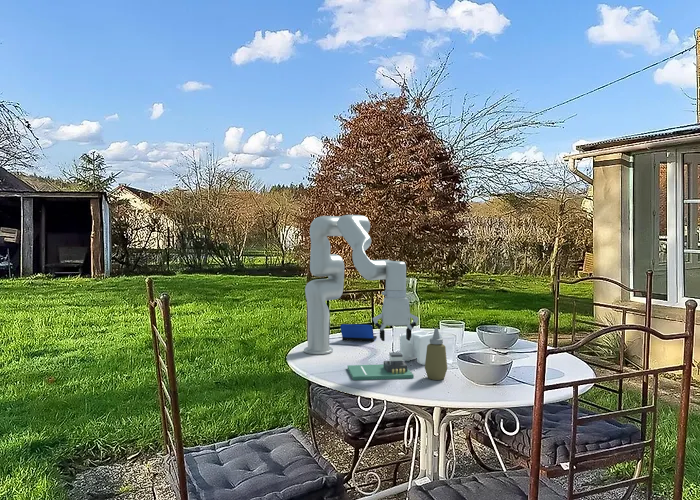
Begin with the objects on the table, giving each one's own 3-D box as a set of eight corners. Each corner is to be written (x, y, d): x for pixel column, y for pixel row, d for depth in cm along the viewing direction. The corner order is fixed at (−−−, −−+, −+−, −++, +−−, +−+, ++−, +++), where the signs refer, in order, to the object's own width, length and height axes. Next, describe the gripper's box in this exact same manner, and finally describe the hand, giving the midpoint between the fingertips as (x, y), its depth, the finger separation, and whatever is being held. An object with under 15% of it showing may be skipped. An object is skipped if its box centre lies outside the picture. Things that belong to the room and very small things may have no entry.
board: (347, 368, 207) (347, 356, 207) (403, 366, 210) (403, 355, 210) (353, 380, 191) (353, 367, 191) (413, 378, 194) (413, 365, 194)
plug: (389, 368, 203) (389, 352, 202) (400, 368, 203) (400, 352, 203) (391, 371, 199) (391, 355, 198) (402, 371, 199) (402, 354, 199)
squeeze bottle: (442, 382, 189) (442, 331, 188) (421, 379, 193) (421, 329, 192) (450, 377, 195) (451, 328, 195) (430, 374, 200) (430, 325, 199)
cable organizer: (418, 367, 210) (418, 337, 210) (398, 362, 218) (398, 333, 217) (442, 360, 220) (442, 332, 220) (422, 356, 228) (422, 328, 227)
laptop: (377, 338, 265) (377, 320, 264) (372, 344, 252) (372, 324, 251) (346, 337, 268) (346, 318, 268) (339, 342, 255) (339, 323, 255)
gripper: (374, 296, 195) (374, 342, 196) (421, 295, 198) (420, 341, 198) (371, 293, 203) (370, 338, 203) (415, 293, 205) (415, 337, 206)
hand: (395, 340), depth 201 cm, fingers open, 9 cm apart
